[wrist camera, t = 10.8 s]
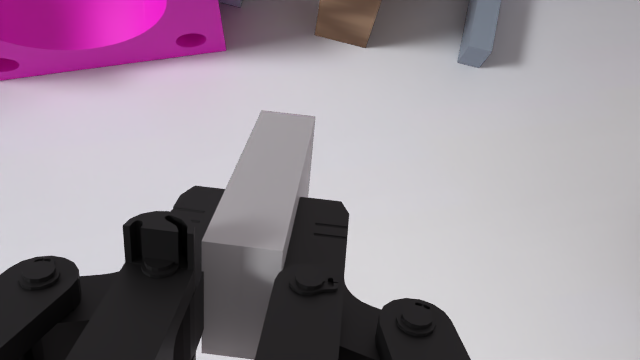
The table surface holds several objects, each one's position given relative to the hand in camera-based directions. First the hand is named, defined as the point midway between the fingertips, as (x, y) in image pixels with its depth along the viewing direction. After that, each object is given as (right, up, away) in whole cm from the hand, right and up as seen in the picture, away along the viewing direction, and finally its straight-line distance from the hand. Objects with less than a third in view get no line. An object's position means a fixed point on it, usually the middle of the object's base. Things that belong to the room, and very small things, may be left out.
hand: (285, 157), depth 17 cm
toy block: (-13, +10, +23) cm, 28 cm away
